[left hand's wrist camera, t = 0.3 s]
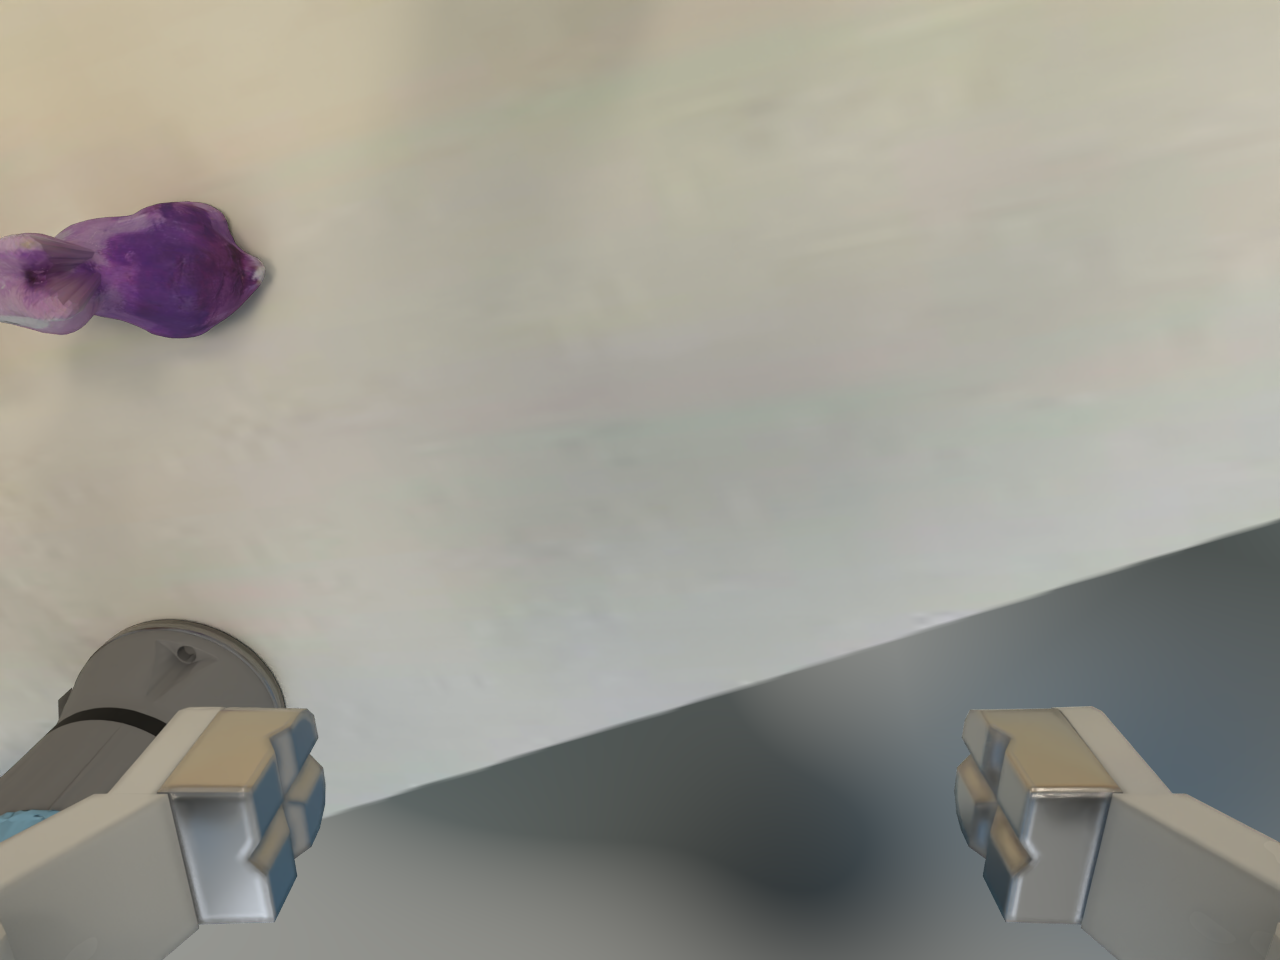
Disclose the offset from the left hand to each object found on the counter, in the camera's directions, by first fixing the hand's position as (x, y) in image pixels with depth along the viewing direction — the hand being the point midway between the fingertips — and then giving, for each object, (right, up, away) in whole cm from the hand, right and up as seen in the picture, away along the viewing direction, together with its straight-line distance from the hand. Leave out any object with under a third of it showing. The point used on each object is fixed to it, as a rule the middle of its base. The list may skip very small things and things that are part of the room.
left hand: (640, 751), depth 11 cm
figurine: (-30, +17, +45) cm, 56 cm away
